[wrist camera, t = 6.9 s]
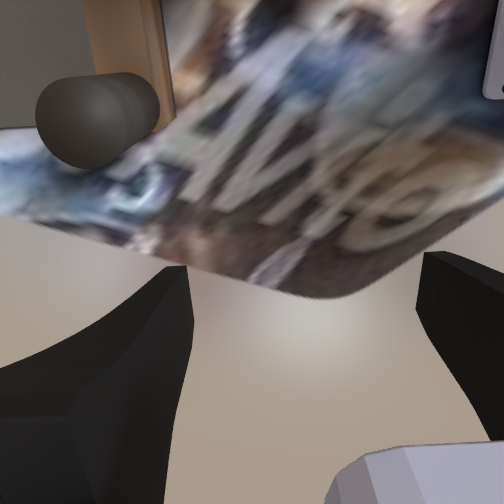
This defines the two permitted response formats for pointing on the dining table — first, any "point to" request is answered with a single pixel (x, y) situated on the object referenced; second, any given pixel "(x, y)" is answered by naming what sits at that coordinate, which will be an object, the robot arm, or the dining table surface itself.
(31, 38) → the vice frame
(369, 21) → the dining table surface
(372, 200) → the dining table surface
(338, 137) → the dining table surface
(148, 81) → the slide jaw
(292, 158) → the dining table surface
